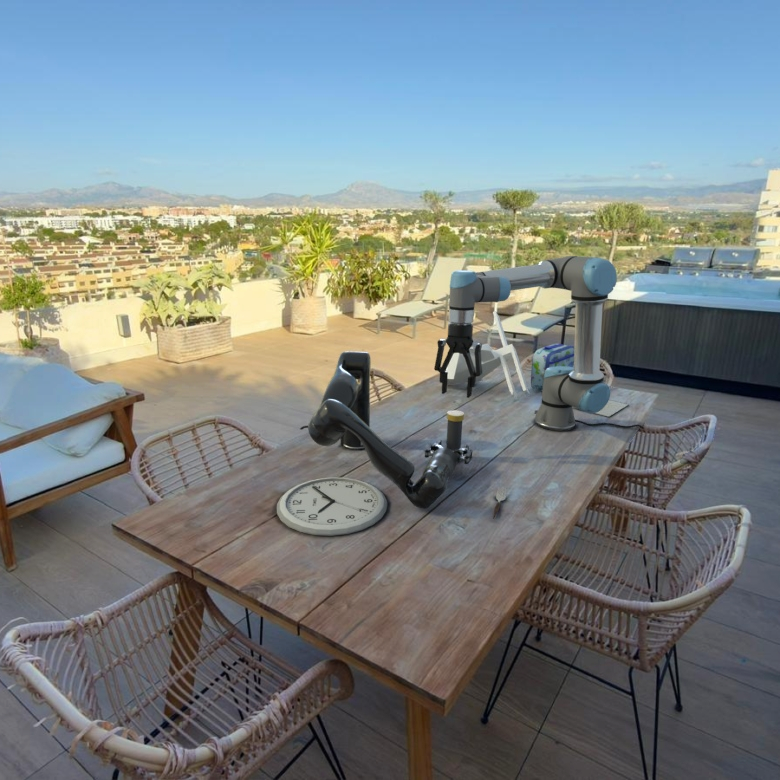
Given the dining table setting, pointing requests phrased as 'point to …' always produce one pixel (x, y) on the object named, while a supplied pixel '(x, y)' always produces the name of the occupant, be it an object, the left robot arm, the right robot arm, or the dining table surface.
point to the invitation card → (611, 408)
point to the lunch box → (550, 361)
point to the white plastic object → (488, 363)
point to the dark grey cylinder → (454, 434)
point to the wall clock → (331, 506)
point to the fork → (499, 498)
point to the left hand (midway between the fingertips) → (453, 444)
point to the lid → (455, 415)
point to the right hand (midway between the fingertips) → (456, 394)
